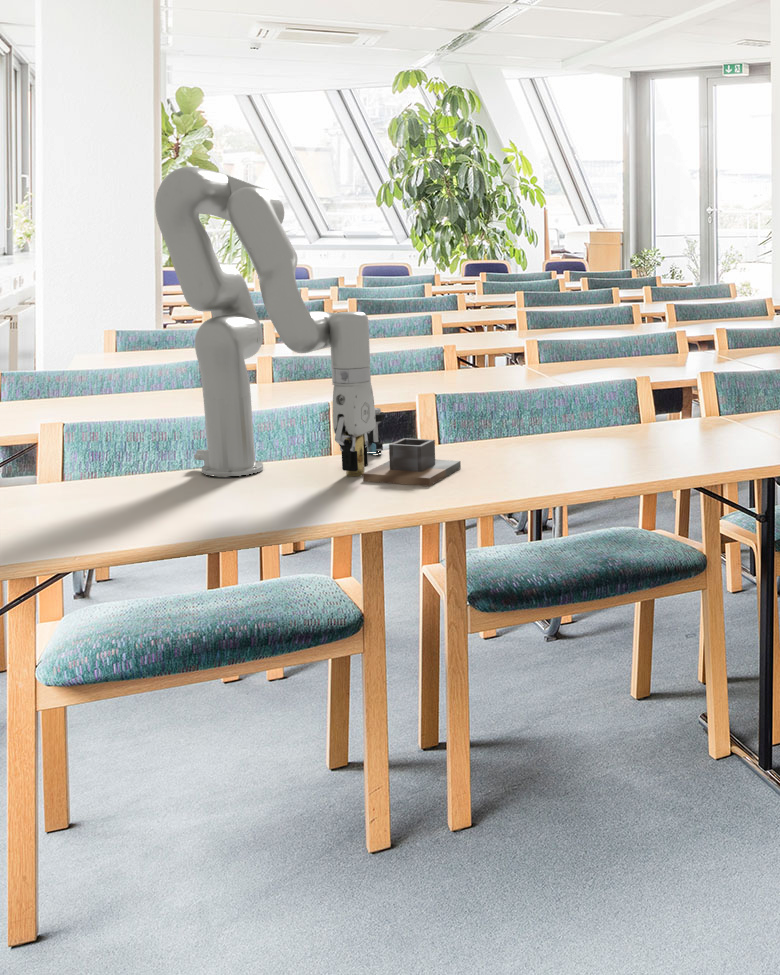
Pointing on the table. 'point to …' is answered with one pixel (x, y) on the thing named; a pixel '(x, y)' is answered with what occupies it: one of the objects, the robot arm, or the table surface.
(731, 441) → the table surface
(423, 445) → the base with square socket
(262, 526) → the table surface
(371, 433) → the push button
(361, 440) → the hinge pin
